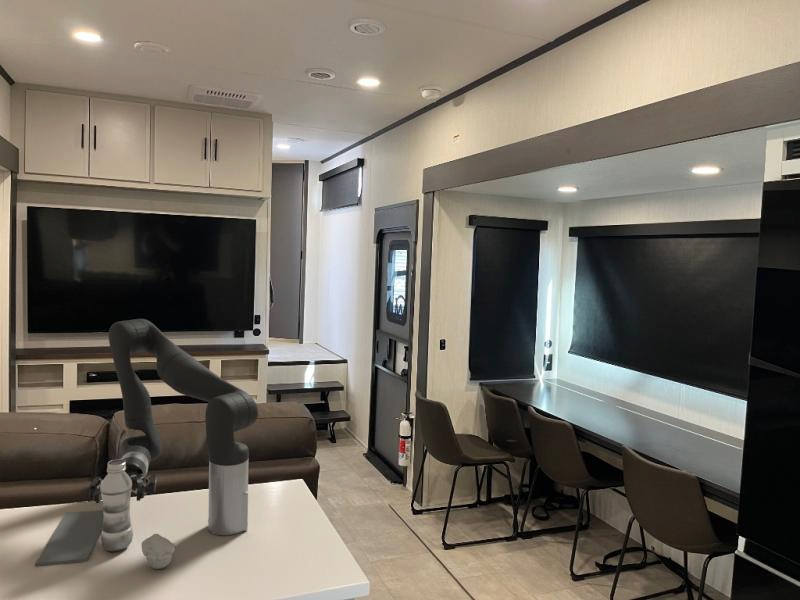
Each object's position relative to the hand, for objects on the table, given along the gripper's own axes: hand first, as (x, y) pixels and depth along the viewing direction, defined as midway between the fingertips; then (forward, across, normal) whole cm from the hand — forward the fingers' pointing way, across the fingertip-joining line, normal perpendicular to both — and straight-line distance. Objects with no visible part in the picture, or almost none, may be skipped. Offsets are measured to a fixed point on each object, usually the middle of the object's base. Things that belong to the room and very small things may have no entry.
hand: (118, 498), depth 136 cm
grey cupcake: (+11, +10, +11) cm, 19 cm away
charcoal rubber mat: (-6, -10, +11) cm, 16 cm away
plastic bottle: (+2, 0, +11) cm, 11 cm away
